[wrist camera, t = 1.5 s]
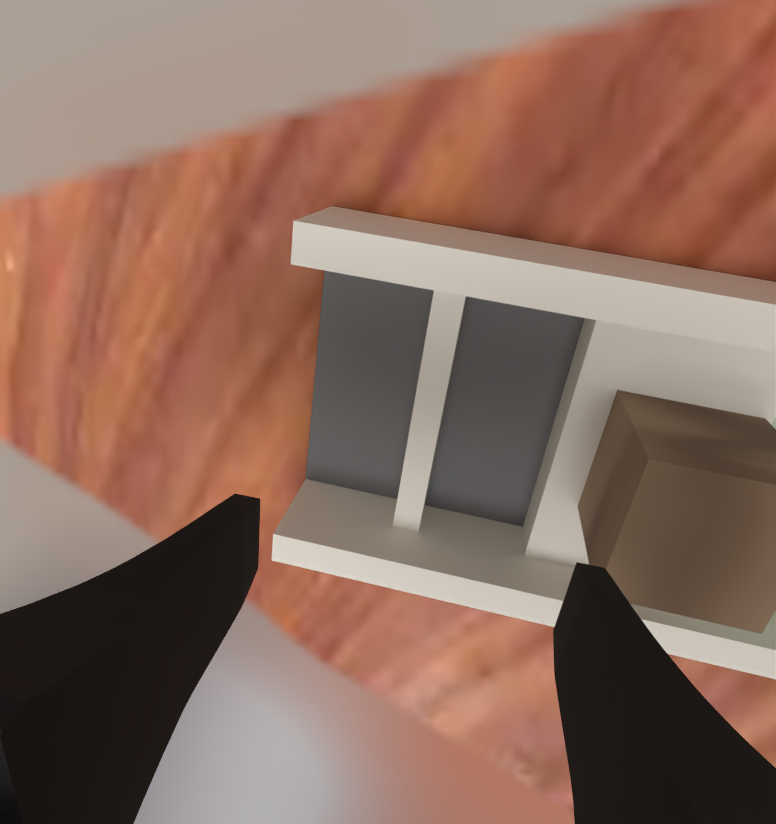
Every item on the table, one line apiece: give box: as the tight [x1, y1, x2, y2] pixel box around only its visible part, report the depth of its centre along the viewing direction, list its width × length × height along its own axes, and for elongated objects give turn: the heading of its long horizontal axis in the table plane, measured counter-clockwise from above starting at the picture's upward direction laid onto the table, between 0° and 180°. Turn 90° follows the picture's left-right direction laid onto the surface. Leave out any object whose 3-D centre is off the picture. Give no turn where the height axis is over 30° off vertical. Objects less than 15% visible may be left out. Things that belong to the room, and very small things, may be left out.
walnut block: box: [578, 390, 776, 634], centre depth 17 cm, size 4×4×4 cm
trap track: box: [272, 206, 776, 679], centre depth 19 cm, size 22×12×4 cm, turn 82°
